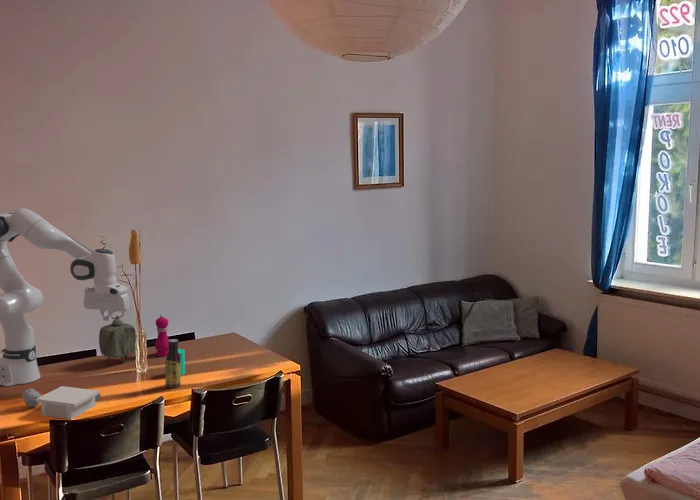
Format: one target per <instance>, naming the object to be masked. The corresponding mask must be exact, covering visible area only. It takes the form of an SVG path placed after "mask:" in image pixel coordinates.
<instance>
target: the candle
mask: <svg viewBox="0 0 700 500" xmlns="http://www.w3.org/2000/svg"><path fill="white" fill-rule="evenodd" d="M178 352H179V353H180V356H181V376H183V375H185V374H186V361H185V360H186V358H185V349H183V348H178Z"/></svg>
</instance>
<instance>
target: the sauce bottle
mask: <svg viewBox="0 0 700 500" xmlns="http://www.w3.org/2000/svg"><path fill="white" fill-rule="evenodd" d="M168 344H169V351H168V354H167V356H165V357H166V358H165V366H164V367H165V369H164V370H165V373H164V374H165V379H164V380H165V386H166V387H167V388H173V389H174V388H175V389H176V388H178V387H180V386H181V380H182V375H181V356H180V353H179V352H178V349H179V340H178V339H176V338H173V339H172V338H171V339H169V341H168Z"/></svg>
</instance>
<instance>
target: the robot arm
mask: <svg viewBox="0 0 700 500" xmlns="http://www.w3.org/2000/svg"><path fill="white" fill-rule="evenodd" d="M19 236H20V237H22V238H23V239H25V240H26V241H27V242H28V243H30V244H31V245H33V246H34V247H36V248H39V249H44V250H59V251H62V252H65V253H67V254H69V255H70V256H72V257H73V258H74V260H73V261H72V262H71V264H70V267H69V268H70V269H69V271H70V274H71V275H72V277H73V278H74V279H75V280H77V281H88V280H93V284H94V285H93V286H87V287H85V289H84V292H83V293H84V295H83V307H84V308H85V309H86V310H97V311H99V312H100V314H101V316H102V320H103V321H109V322H110V321H112V318H111V316H112V317H113V314H114V313H115V312H114V311H116V312H121V313H122V312H124V313H125V312H127V311H129V309H130V308H131V306H130V305H131V304H130V296H129V293H128V291H129V288H128V287H127V286H125V285H123V284H120V283H119V282H117V280H118V279H117V277H116V273H117V263H116V257H115V256H116V255H115V254H114V252H113V251H112V250H110V249H106V248H97V249H95V250H94V251H93V250H91V249H89V248H88V247H86V246H85V245H84V244H82V243H80V242H79V241H78V240H76V239H74V238H73V237H71V236H70V235H68V234H66V233H65V232H63V231H61V230H60V229H58V228H57V227H55V226H54V225H52V224H51V223H50V222H48V221H47V220H46V219H45V218H43V217H42V216H41V215H39V214H38V213H36V212H34V211H33V210H31V209H28V208H25V207H21V208H18V209H16V210H15V211H13V212H7V213H6V212H2V213H1V212H0V289H1V290H3V292H4V293H1V294H0V326H1V327H2V330H3V334H4V343H5V348H3V349H0V354H1V353H3V354H2V357H0V386H3V387H10V386H14V385H23V384H28V383H32V382H33V383H34V382H35V381H37V380H39V379H41V376H42V375H41V374H40V369H39V367H38V366H39V365H38V361H37V357H36V355H37V348H36V347H37V346H36V344H35V335H34V334H35V332H34V328H33V327H32V325H30V324H28V323H27V320H26V318H25V315H26V314H28V313H31V312H34V311H36V310H37V309H38V308H39V307H41V306H42V304H43V301H44V296H43V293H42V291H41V290H40V289H39V288H37V287H36V286H34V285H32V284H31V283H29V282H28V281H27V280H26V279H25V277H23V276H22V274H21V273H20V271H19V270H18V268H17V266H16V264H15V262H14V259H13V258H12V257H13V256H11V253H10V252H9V249H8V243H10V242H11V243H12V242H13V241H14V240H15V239H16V238H17V237H19ZM106 312H107V313H106ZM113 312H114V313H113Z"/></svg>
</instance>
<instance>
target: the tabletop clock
mask: <svg viewBox="0 0 700 500" xmlns="http://www.w3.org/2000/svg"><path fill="white" fill-rule="evenodd" d="M115 312H116V313H117V311H114V312H113V314H115ZM121 313H122V314H121V315H120V316H119V315H116V316H115V317H113V315H112V316H111V320H112V319H113V320H112V322H111V323H109V324H106V325H104V326H102V327H101V328H100V329H99V335H98V344H99V351H100V353H101V356H102V355H103V356H106V357H107V358H106V360H104V363H103V364H105V365H108V363H109V360H110V359H111V358H113V359H116V358H120V364H124V363H125V360H124V359H127V358H128V355H130V354H132V353H133V352H135V351H136V349H135V343H136V344H137V335H136V329H135V327H134V325H132V324H128V323H125V322H123V320H122V319H121V318H122V317H123V316H124V314H125V312H121ZM123 358H124V359H123Z"/></svg>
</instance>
